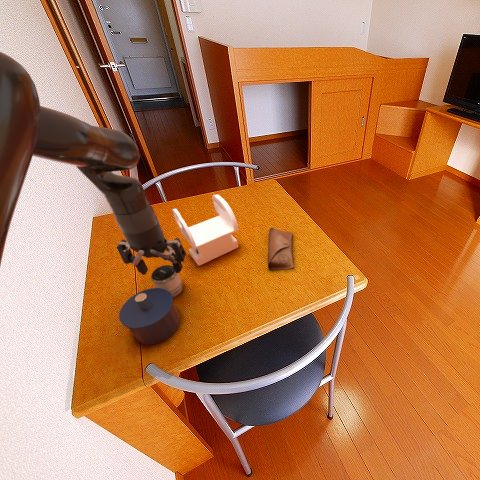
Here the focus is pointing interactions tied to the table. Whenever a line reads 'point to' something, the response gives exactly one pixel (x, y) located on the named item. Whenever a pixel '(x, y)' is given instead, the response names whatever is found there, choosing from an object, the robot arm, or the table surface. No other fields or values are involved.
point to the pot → (159, 329)
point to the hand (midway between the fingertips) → (162, 271)
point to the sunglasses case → (280, 250)
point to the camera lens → (167, 279)
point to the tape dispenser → (210, 233)
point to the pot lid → (146, 308)
